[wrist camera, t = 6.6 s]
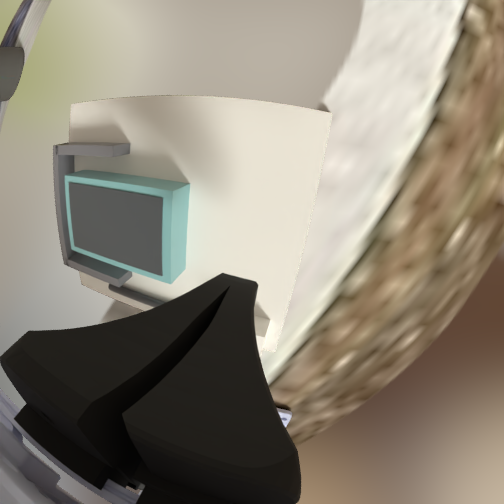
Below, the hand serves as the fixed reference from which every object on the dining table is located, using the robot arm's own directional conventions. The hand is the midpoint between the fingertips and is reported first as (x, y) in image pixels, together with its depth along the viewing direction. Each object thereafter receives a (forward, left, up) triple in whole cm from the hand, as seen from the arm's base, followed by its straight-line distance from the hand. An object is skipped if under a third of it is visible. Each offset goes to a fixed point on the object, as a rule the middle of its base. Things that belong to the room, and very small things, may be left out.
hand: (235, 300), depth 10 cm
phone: (0, +8, -5) cm, 9 cm away
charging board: (0, +6, -5) cm, 8 cm away
